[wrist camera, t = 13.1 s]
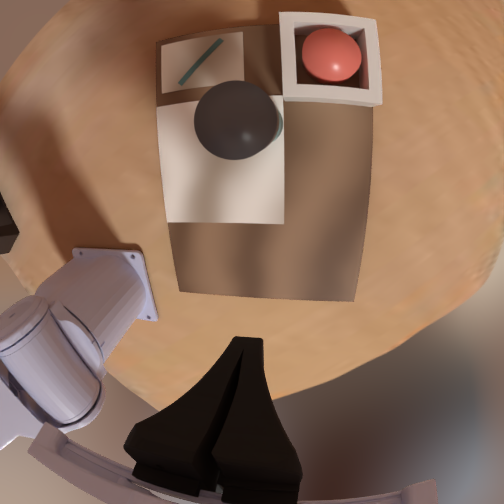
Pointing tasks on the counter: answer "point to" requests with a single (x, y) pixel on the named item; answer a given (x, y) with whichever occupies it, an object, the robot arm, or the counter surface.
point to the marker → (236, 120)
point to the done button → (330, 56)
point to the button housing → (365, 96)
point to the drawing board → (262, 177)
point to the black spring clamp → (6, 228)
